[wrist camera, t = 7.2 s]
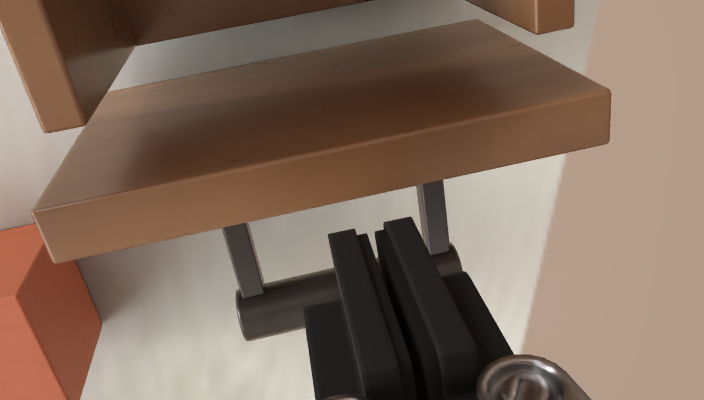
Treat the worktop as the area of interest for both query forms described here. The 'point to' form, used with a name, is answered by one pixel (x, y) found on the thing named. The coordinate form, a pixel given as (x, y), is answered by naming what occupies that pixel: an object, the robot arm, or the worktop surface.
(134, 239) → the drawer
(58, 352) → the block
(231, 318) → the worktop surface
